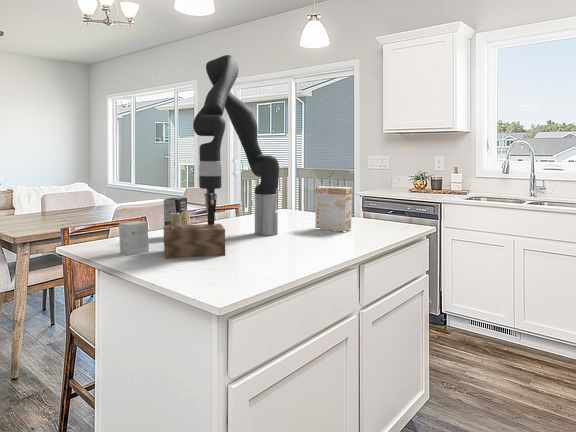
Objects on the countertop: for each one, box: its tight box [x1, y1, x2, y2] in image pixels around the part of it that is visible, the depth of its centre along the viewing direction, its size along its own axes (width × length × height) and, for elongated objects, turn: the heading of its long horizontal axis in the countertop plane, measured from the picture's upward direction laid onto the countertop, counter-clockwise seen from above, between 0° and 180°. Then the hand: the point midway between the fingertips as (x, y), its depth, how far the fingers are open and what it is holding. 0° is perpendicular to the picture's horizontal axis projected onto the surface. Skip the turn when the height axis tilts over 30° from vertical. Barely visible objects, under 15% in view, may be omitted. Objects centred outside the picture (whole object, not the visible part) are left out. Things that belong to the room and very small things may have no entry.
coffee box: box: [163, 197, 189, 227], centre depth 185 cm, size 9×6×16 cm
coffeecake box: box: [314, 185, 353, 232], centre depth 206 cm, size 15×7×20 cm, turn 58°
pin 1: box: [171, 213, 180, 229], centre depth 156 cm, size 3×3×8 cm
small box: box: [118, 220, 150, 256], centre depth 159 cm, size 8×6×10 cm
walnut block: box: [163, 223, 226, 259], centre depth 158 cm, size 20×12×9 cm, turn 105°
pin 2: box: [205, 223, 217, 228], centre depth 160 cm, size 3×3×8 cm
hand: (210, 224), depth 159 cm, fingers closed
